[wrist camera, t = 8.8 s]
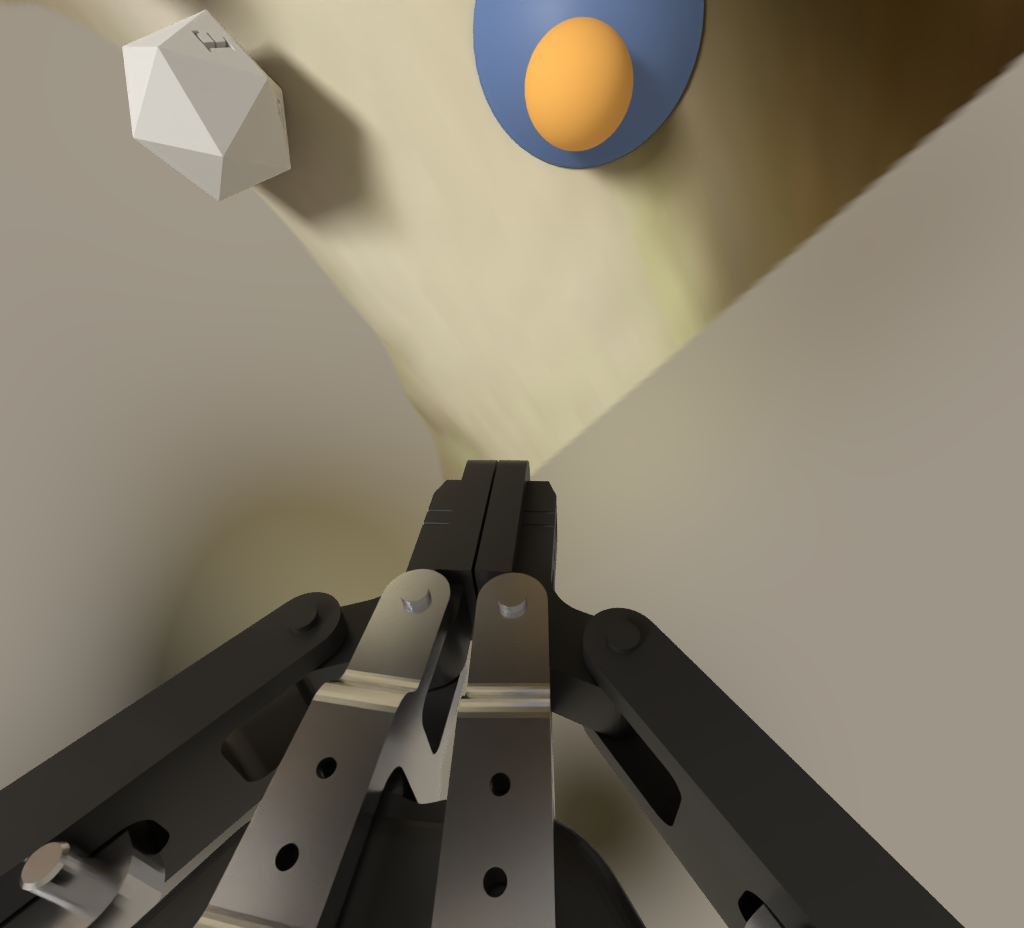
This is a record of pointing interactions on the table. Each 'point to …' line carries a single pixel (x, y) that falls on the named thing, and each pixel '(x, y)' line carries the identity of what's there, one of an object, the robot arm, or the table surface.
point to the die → (206, 106)
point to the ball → (579, 84)
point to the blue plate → (647, 35)
